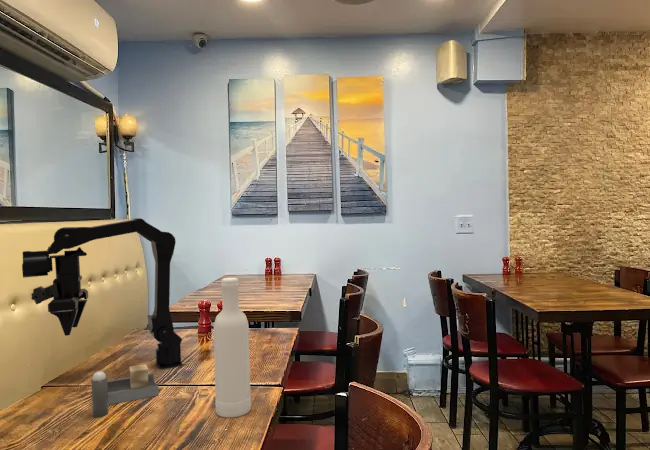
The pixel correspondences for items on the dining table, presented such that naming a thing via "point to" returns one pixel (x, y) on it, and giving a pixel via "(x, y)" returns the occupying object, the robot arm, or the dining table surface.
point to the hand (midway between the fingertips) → (71, 331)
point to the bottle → (231, 355)
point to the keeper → (138, 376)
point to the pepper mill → (99, 394)
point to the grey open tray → (129, 390)
